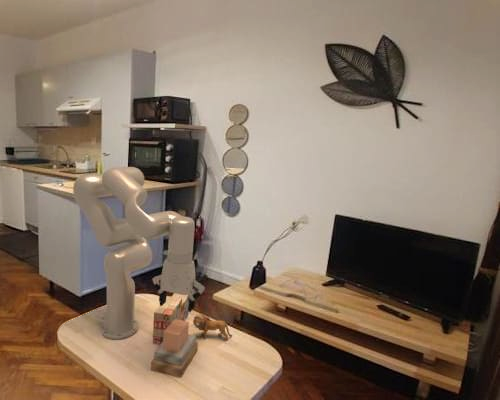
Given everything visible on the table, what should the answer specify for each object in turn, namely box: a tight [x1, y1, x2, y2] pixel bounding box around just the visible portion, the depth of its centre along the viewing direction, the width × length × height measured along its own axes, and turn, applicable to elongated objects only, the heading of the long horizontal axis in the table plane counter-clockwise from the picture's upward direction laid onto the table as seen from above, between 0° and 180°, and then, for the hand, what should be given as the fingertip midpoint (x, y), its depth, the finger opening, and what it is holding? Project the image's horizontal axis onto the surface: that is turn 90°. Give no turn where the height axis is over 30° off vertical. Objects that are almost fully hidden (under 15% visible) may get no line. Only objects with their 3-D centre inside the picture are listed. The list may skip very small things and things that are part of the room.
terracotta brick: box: [163, 319, 190, 352], centre depth 109 cm, size 5×8×6 cm, turn 167°
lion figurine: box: [192, 313, 233, 342], centre depth 124 cm, size 15×5×9 cm, turn 98°
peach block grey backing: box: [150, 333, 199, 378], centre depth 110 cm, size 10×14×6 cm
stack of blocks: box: [152, 293, 190, 345], centre depth 127 cm, size 21×6×12 cm, turn 173°
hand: (176, 306), depth 107 cm, fingers open, 9 cm apart
